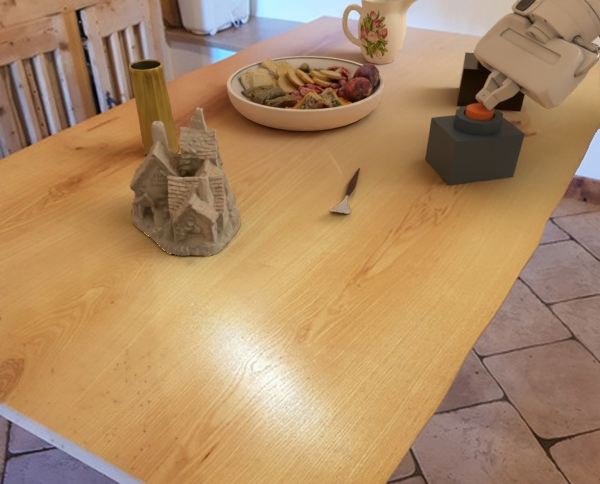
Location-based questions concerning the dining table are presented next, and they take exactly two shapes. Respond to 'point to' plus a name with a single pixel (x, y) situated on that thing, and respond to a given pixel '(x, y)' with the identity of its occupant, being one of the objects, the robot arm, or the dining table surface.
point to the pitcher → (379, 28)
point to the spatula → (344, 206)
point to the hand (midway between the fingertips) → (481, 104)
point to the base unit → (481, 85)
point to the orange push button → (479, 112)
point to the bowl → (305, 92)
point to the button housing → (473, 148)
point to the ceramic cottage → (185, 192)
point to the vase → (152, 101)
